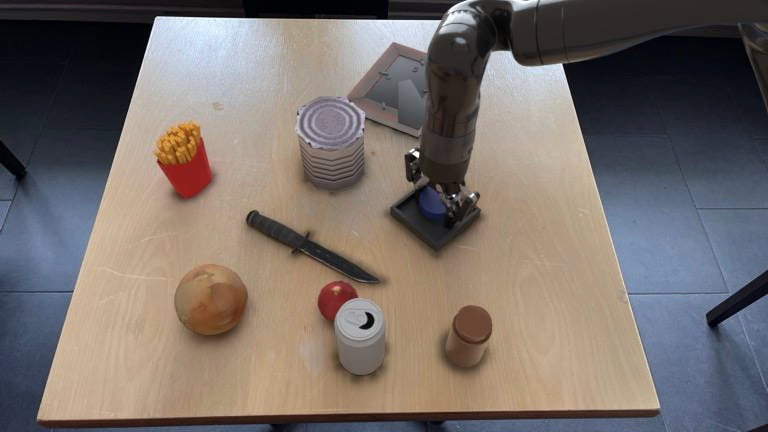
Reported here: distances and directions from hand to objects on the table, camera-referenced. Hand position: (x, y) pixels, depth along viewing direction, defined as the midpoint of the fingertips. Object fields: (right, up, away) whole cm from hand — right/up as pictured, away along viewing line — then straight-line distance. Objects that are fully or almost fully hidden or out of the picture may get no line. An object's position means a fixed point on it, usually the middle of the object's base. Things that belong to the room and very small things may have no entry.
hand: (435, 212), depth 88 cm
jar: (+3, -20, -14) cm, 24 cm away
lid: (0, +2, -3) cm, 3 cm away
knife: (-20, -6, -4) cm, 21 cm away
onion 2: (-15, -15, -10) cm, 24 cm away
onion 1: (-33, -15, -11) cm, 38 cm away
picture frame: (-4, +25, +19) cm, 31 cm away
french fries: (-42, +5, +4) cm, 42 cm away
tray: (0, 0, 0) cm, 1 cm away
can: (-18, +8, +6) cm, 20 cm away
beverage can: (-12, -20, -14) cm, 27 cm away
